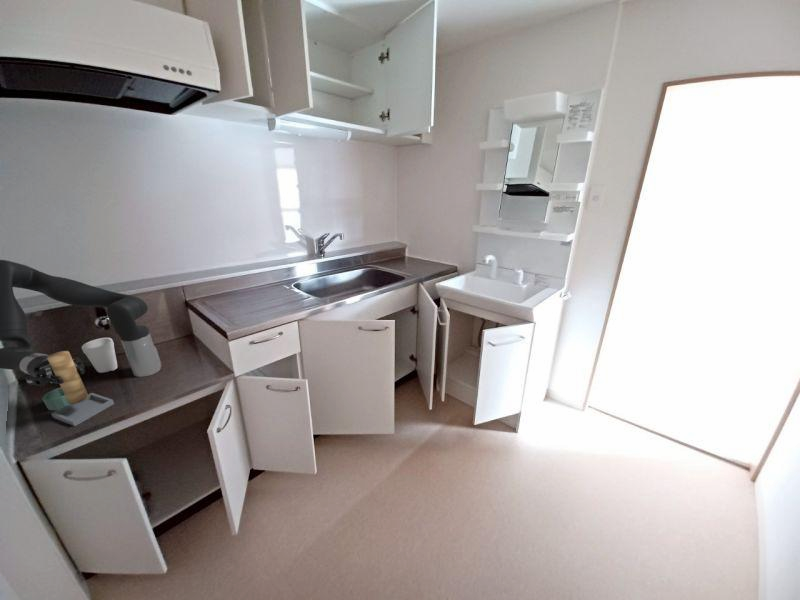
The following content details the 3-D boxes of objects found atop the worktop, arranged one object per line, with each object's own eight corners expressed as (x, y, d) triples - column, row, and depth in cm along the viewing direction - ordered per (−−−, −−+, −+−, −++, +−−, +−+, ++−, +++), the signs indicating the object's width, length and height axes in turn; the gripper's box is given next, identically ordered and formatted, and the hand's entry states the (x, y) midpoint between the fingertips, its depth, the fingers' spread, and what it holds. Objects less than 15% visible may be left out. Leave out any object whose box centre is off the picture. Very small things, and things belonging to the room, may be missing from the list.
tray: (54, 419, 106) (51, 413, 105) (94, 397, 116) (91, 392, 115) (75, 427, 102) (72, 421, 102) (114, 404, 113) (112, 399, 112)
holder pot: (62, 397, 116) (56, 386, 114) (84, 396, 117) (79, 385, 115) (42, 412, 109) (36, 400, 107) (66, 410, 110) (60, 399, 108)
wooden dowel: (76, 394, 109) (57, 351, 102) (92, 394, 110) (73, 350, 103) (64, 404, 105) (42, 359, 98) (80, 403, 105) (59, 359, 98)
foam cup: (119, 360, 139) (109, 335, 134) (124, 368, 134) (114, 342, 129) (91, 370, 132) (79, 343, 127) (95, 378, 127) (83, 351, 122)
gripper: (6, 367, 100) (38, 379, 95) (63, 346, 112) (94, 355, 107) (17, 386, 102) (48, 398, 98) (71, 363, 115) (101, 373, 110)
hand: (72, 376), depth 102 cm, fingers closed on wooden dowel, 5 cm apart
